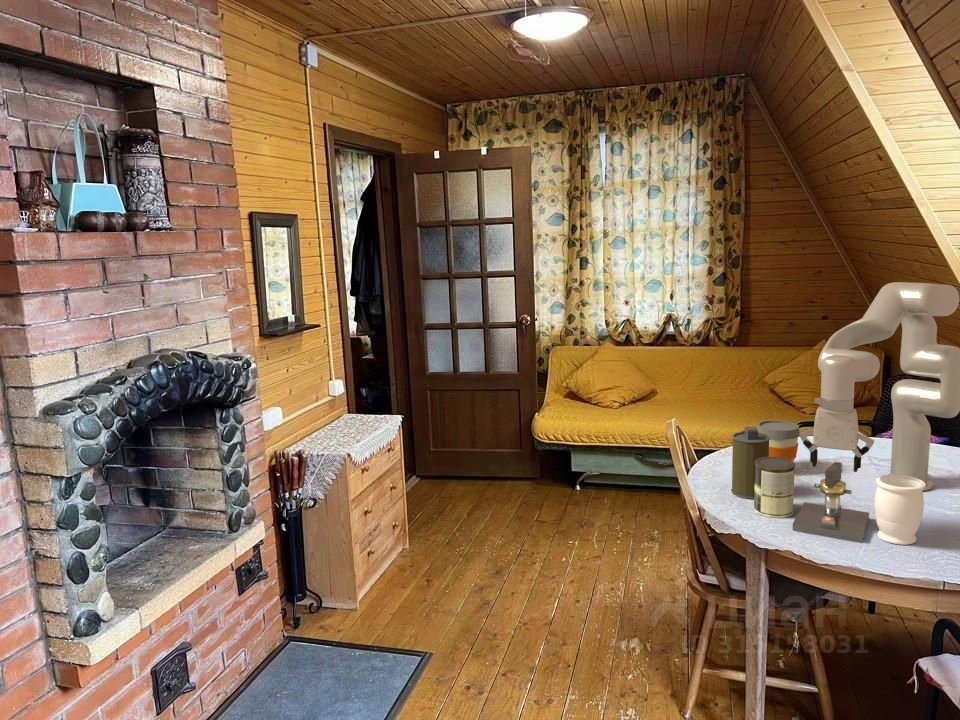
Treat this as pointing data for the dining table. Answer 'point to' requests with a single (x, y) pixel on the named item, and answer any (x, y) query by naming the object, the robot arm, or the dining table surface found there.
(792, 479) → the coffee can
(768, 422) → the reusable coffee cup
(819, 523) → the lever latch plate
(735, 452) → the canister
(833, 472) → the latch lever
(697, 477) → the dining table surface
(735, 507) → the dining table surface
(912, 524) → the jar
